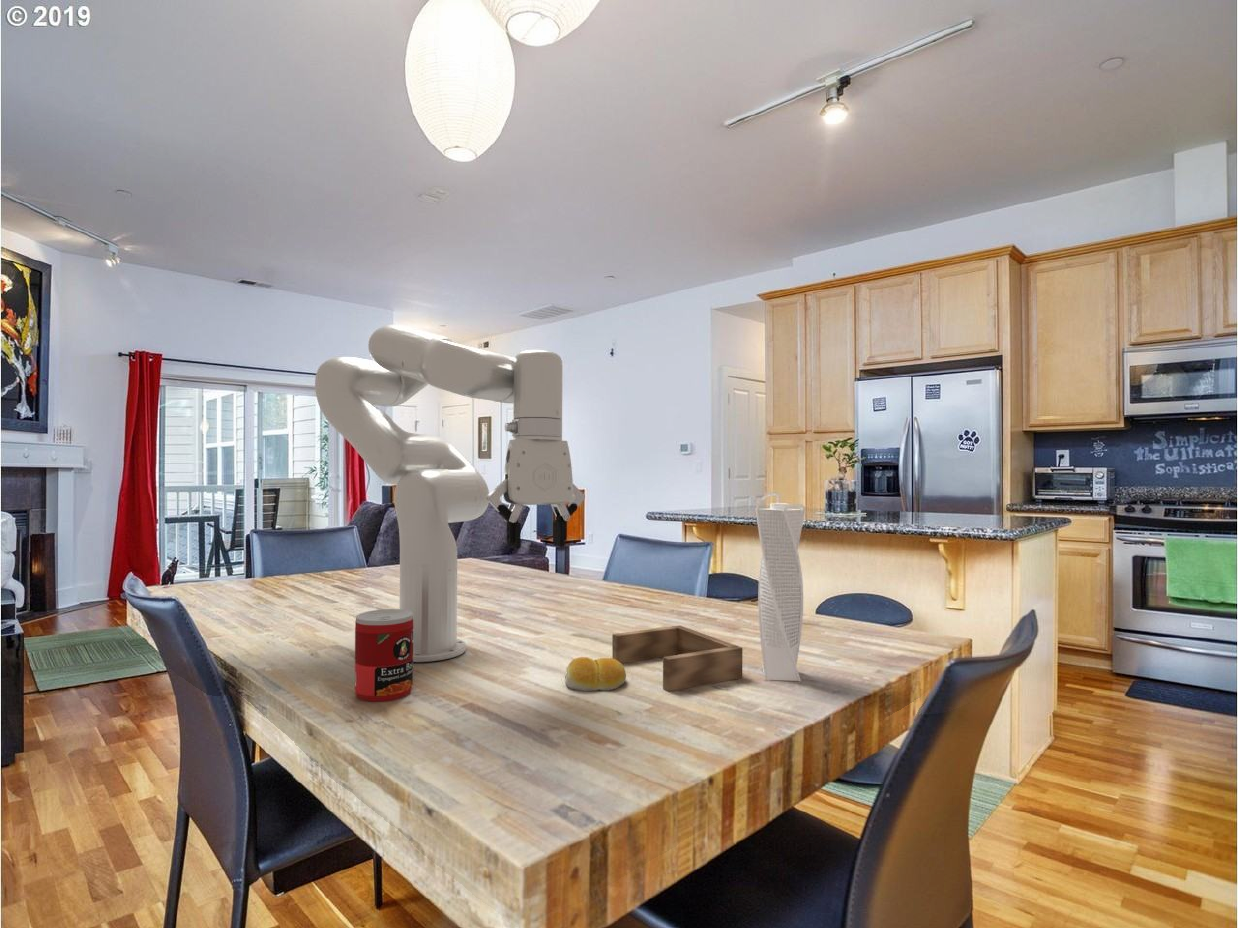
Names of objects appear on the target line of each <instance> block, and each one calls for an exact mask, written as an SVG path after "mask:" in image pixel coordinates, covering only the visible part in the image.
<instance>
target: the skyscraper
mask: <svg viewBox="0 0 1238 928" xmlns="http://www.w3.org/2000/svg"><path fill="white" fill-rule="evenodd" d="M768 497H776V502H770V504H769V507H768V508H759V507H760V505H761V503H762V501H763V500H764V499H766V498H768ZM780 497H781V495H780V494H779V493H778V492H769V493H766V494H763V496H761V498H760V499H759V500H758V502H757V504H756V507H755V516H756V523H757V529H758V536H759V541H760V547H761V552H762V554H761V555H762V556H761V560H760V565H759V566H760V567H759V574H758V575H759V576H758V591H757V592H758V595H757V597H758V598H757V600H758V601H757V602H758V606H757V607H758V625H759V634H760V635H759V638H760V645H761V656H762V666H761V669H760V670H761V671H762V672H763V675H764V680H765V681H787V682H789V681H791V682H801V681H802V680H801V677H800V673H799V670H798V667H797V662H798V658H799V657H798V656H799V652H800V646H801V639H802V638H801V637H802V629H803V618H804V617H803V615H804V581H803V574H802V573H803V572H802V567H801V560H800V556H799V550H798V549H799V545H800V539H801V534H802V530H803V523H804V517H805V512H806V507H805V505H804V504H802V503H793V504H789V503H788V502H787V503H786V502H785V503H784V502H780ZM798 508H799V509H798Z"/></svg>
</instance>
